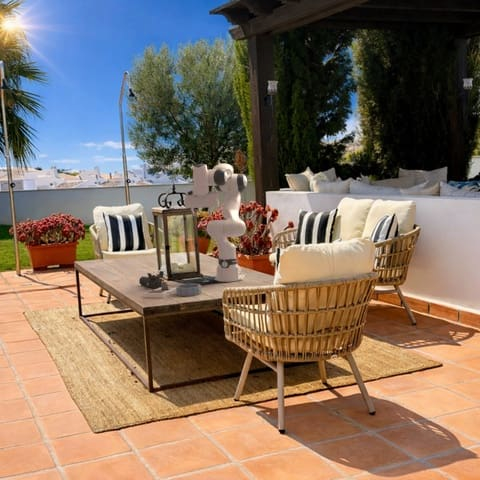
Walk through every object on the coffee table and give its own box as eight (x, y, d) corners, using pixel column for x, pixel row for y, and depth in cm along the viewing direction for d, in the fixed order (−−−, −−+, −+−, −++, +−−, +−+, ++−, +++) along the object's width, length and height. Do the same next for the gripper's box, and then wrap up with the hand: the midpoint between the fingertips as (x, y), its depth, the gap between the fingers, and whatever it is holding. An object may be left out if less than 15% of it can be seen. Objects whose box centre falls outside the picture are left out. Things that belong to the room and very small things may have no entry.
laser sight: (149, 284, 401) (148, 269, 400) (170, 288, 384) (169, 272, 383) (136, 286, 394) (135, 271, 393) (156, 290, 378) (156, 274, 376)
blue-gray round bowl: (182, 291, 372) (182, 283, 372) (204, 291, 368) (203, 283, 367) (172, 295, 359) (172, 288, 358) (195, 296, 355) (195, 288, 354)
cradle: (160, 290, 378) (159, 285, 377) (178, 290, 374) (178, 285, 374) (144, 297, 358) (144, 292, 358) (163, 297, 354) (163, 292, 354)
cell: (163, 291, 373) (162, 279, 372) (169, 291, 371) (168, 279, 371) (160, 293, 369) (159, 280, 368) (166, 293, 368) (166, 281, 367)
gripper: (219, 191, 369) (220, 214, 370) (185, 192, 372) (187, 215, 373) (217, 191, 363) (218, 215, 364) (183, 192, 366) (184, 216, 367)
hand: (202, 215), depth 369 cm, fingers open, 8 cm apart
